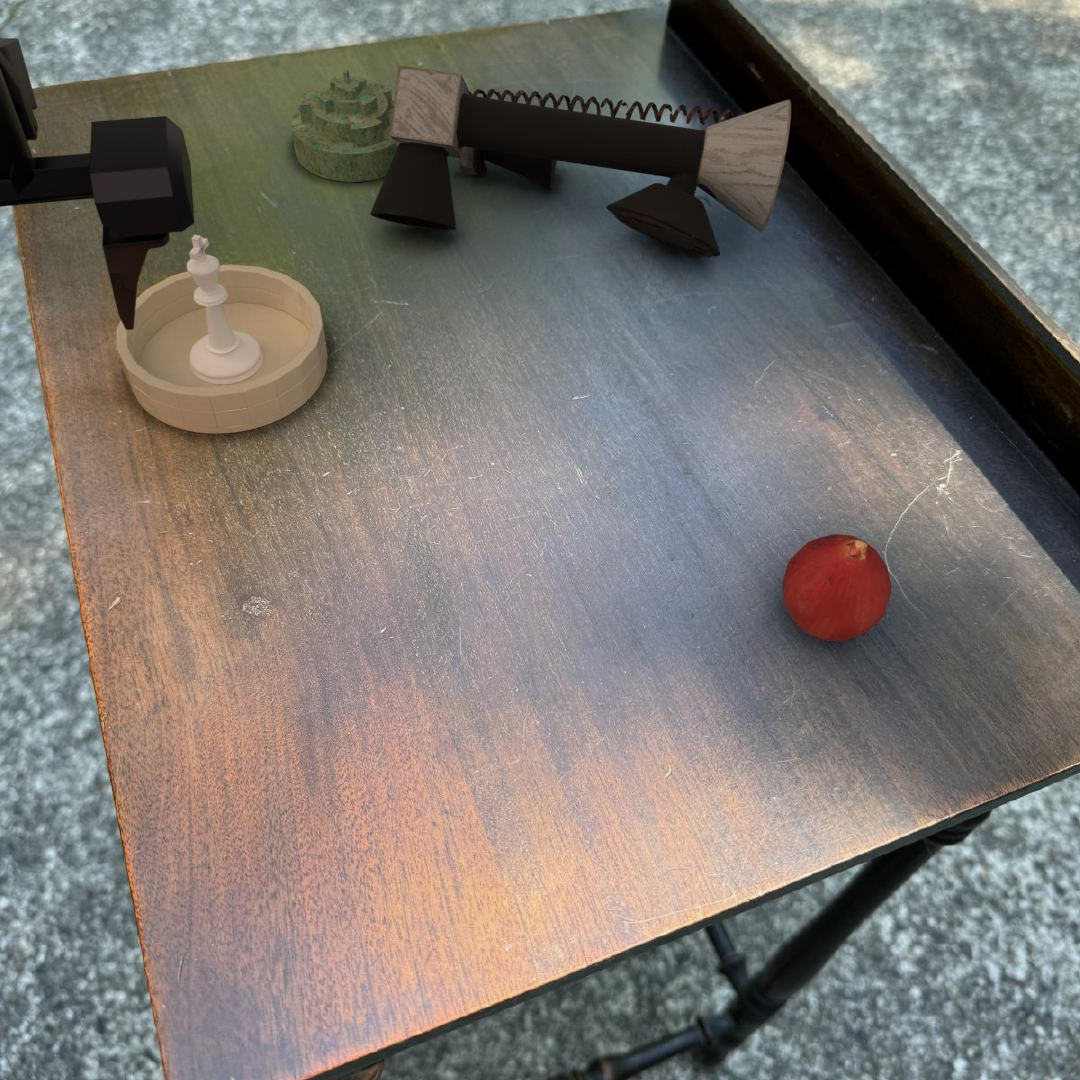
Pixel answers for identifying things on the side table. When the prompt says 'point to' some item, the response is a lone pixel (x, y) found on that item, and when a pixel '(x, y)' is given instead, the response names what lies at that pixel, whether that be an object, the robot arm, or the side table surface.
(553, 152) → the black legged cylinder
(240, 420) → the pan
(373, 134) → the decorative artifact
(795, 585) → the onion
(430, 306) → the side table surface
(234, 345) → the chess piece
